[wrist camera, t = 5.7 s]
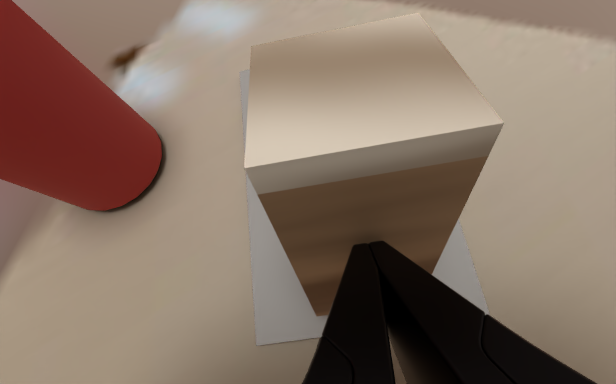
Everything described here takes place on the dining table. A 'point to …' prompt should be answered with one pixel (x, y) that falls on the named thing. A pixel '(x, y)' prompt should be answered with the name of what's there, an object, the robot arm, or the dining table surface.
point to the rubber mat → (286, 286)
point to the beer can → (66, 123)
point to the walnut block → (363, 145)
